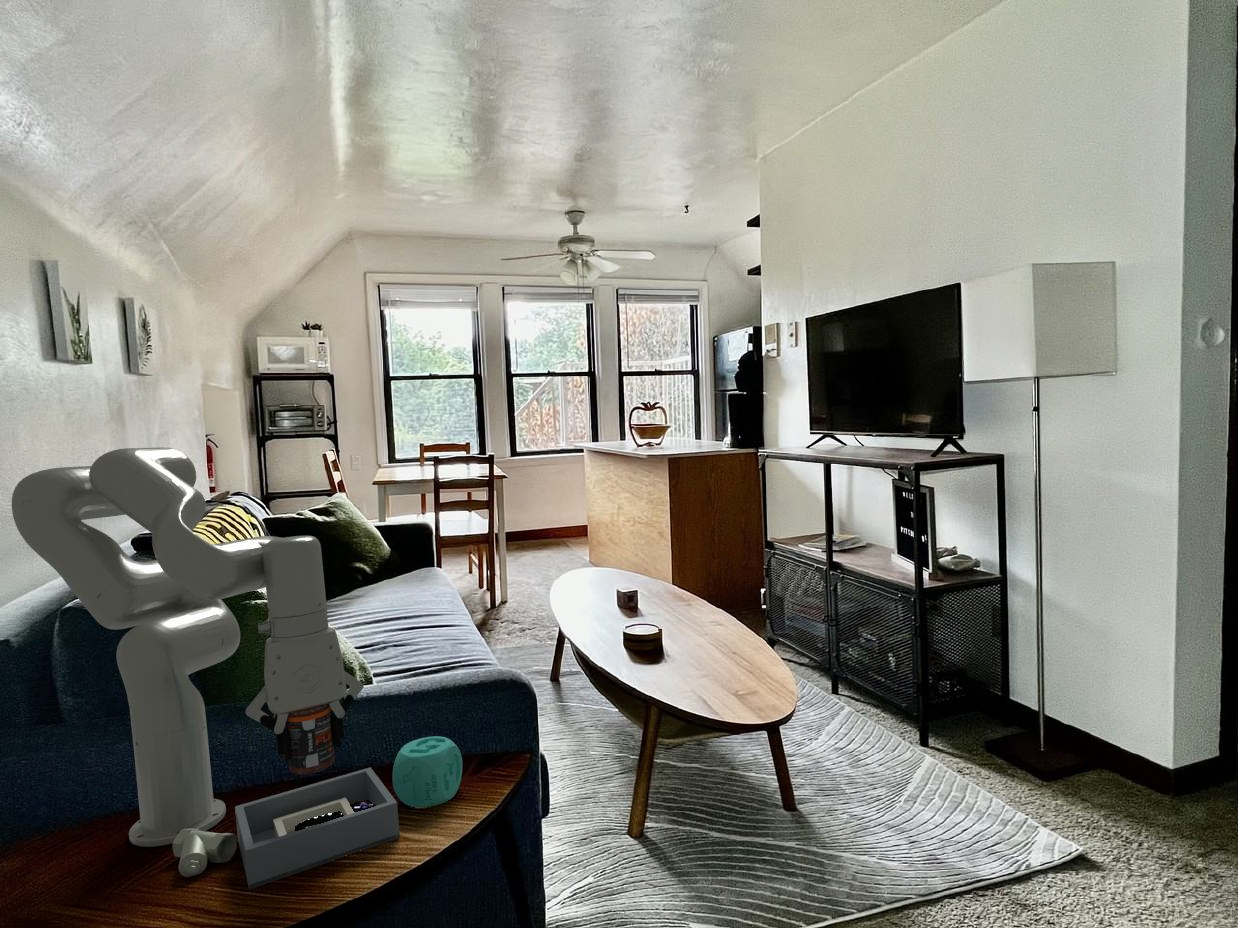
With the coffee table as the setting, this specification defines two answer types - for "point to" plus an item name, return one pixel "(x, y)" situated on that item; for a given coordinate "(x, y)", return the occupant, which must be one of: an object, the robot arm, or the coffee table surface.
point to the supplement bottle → (310, 739)
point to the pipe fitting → (202, 849)
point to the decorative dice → (427, 771)
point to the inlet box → (286, 852)
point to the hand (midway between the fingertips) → (311, 749)
